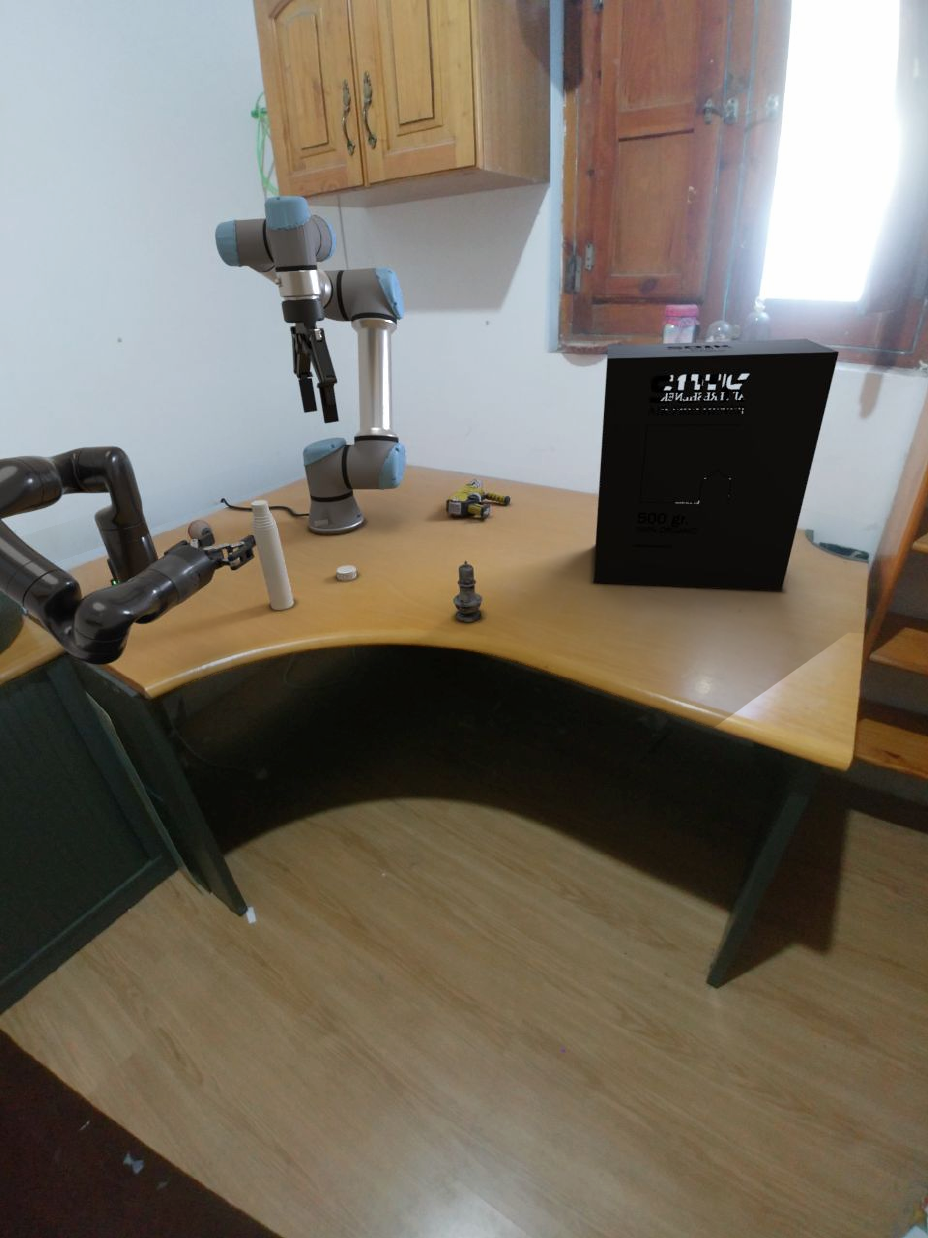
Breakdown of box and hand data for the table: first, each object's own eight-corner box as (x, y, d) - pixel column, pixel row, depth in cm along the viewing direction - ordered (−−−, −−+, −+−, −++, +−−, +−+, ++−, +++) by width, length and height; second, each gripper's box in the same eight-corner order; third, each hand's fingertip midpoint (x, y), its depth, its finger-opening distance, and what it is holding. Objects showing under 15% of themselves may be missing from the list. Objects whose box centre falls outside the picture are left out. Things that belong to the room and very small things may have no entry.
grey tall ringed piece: (480, 623, 118) (477, 567, 112) (451, 621, 119) (447, 566, 113) (485, 608, 123) (483, 554, 117) (457, 607, 124) (453, 553, 118)
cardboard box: (760, 550, 140) (805, 338, 118) (781, 591, 123) (838, 351, 101) (595, 545, 148) (608, 345, 125) (593, 582, 131) (607, 358, 108)
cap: (338, 573, 142) (337, 566, 141) (357, 571, 142) (356, 564, 141) (336, 581, 138) (335, 574, 137) (355, 579, 138) (354, 572, 137)
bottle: (290, 597, 132) (268, 497, 121) (296, 606, 129) (274, 503, 117) (269, 603, 130) (244, 501, 119) (274, 612, 127) (249, 508, 115)
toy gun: (518, 484, 183) (472, 477, 187) (496, 507, 163) (444, 499, 167) (517, 499, 185) (471, 492, 189) (494, 524, 165) (443, 515, 169)
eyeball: (201, 547, 160) (195, 526, 157) (186, 543, 163) (180, 522, 160) (220, 539, 164) (214, 518, 161) (205, 536, 167) (199, 515, 164)
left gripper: (146, 594, 101) (204, 554, 114) (221, 600, 98) (271, 559, 111) (132, 553, 97) (193, 517, 111) (208, 558, 94) (262, 520, 107)
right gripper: (264, 299, 119) (286, 410, 130) (300, 300, 100) (322, 430, 111) (301, 296, 123) (319, 405, 133) (343, 297, 103) (360, 423, 114)
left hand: (232, 538), depth 111 cm, fingers open, 8 cm apart
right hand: (320, 416), depth 122 cm, fingers open, 13 cm apart
